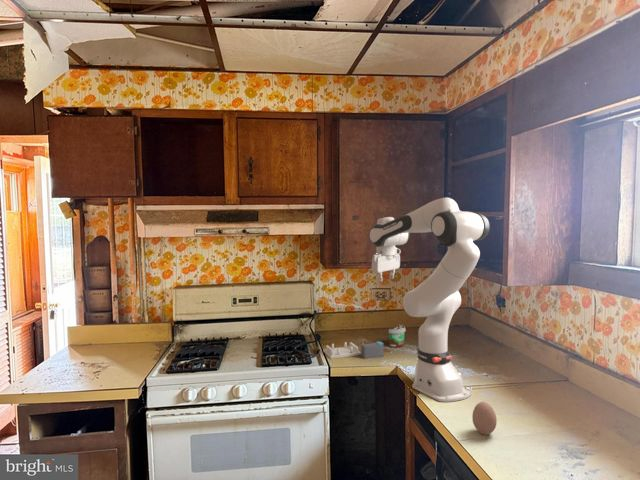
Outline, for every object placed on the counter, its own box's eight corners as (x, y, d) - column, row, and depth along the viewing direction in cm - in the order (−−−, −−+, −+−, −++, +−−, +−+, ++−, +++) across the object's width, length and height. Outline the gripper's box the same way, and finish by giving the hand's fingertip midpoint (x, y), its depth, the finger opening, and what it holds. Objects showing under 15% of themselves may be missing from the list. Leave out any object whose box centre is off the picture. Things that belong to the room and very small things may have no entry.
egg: (490, 427, 122) (489, 396, 121) (500, 439, 115) (500, 406, 115) (468, 428, 122) (468, 397, 121) (478, 440, 115) (478, 407, 114)
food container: (399, 350, 197) (399, 330, 197) (388, 348, 201) (388, 329, 201) (409, 343, 207) (409, 325, 207) (399, 342, 211) (399, 323, 210)
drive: (383, 356, 189) (383, 343, 189) (364, 359, 186) (364, 346, 186) (380, 353, 193) (379, 341, 193) (361, 356, 190) (361, 343, 189)
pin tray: (361, 354, 192) (361, 346, 192) (331, 359, 187) (330, 350, 187) (352, 347, 203) (352, 340, 203) (323, 351, 198) (323, 343, 198)
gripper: (379, 253, 174) (380, 283, 175) (402, 249, 189) (402, 277, 190) (367, 252, 178) (368, 282, 179) (391, 249, 194) (391, 276, 194)
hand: (386, 280), depth 185 cm, fingers open, 8 cm apart
